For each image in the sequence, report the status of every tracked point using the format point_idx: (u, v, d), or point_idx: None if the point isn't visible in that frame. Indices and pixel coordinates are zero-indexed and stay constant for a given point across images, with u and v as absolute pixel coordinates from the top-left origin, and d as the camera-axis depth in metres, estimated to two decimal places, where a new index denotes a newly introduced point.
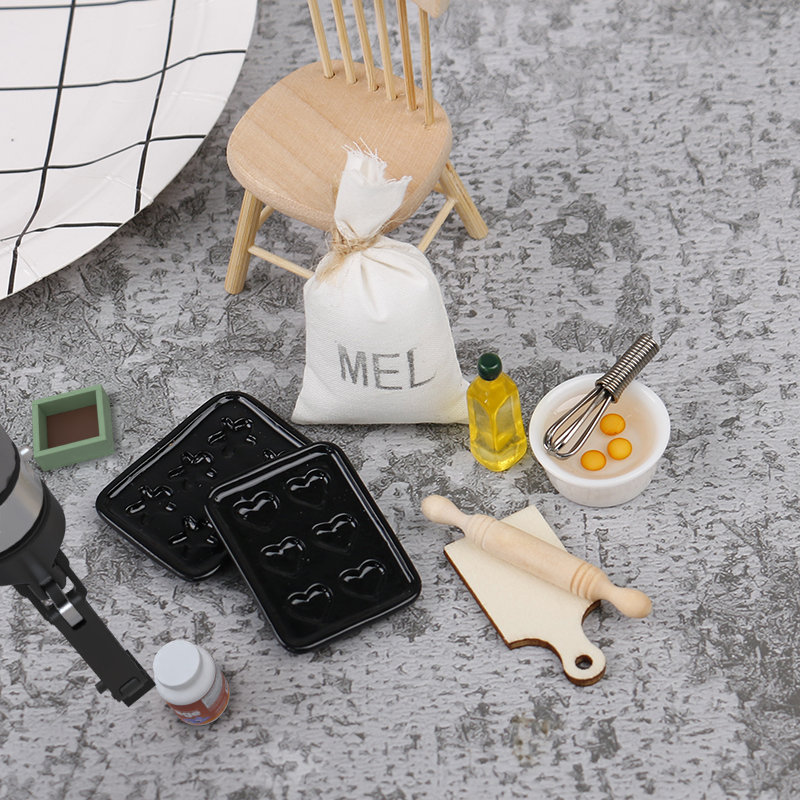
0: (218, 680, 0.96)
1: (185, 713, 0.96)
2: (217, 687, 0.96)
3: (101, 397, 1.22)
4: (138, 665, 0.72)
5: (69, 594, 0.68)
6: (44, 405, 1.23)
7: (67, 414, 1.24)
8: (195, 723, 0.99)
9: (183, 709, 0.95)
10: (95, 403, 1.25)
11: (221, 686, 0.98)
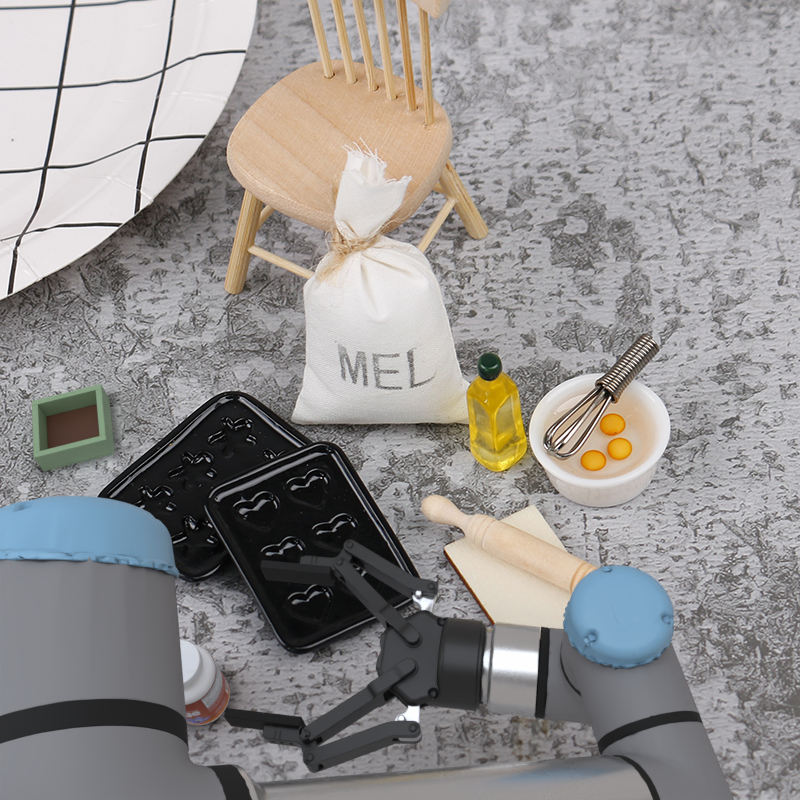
0: (218, 680, 0.96)
1: None
2: (217, 687, 0.96)
3: (101, 397, 1.22)
4: None
5: None
6: (44, 405, 1.23)
7: (67, 414, 1.24)
8: (195, 723, 0.99)
9: None
10: (95, 403, 1.25)
11: (221, 686, 0.98)
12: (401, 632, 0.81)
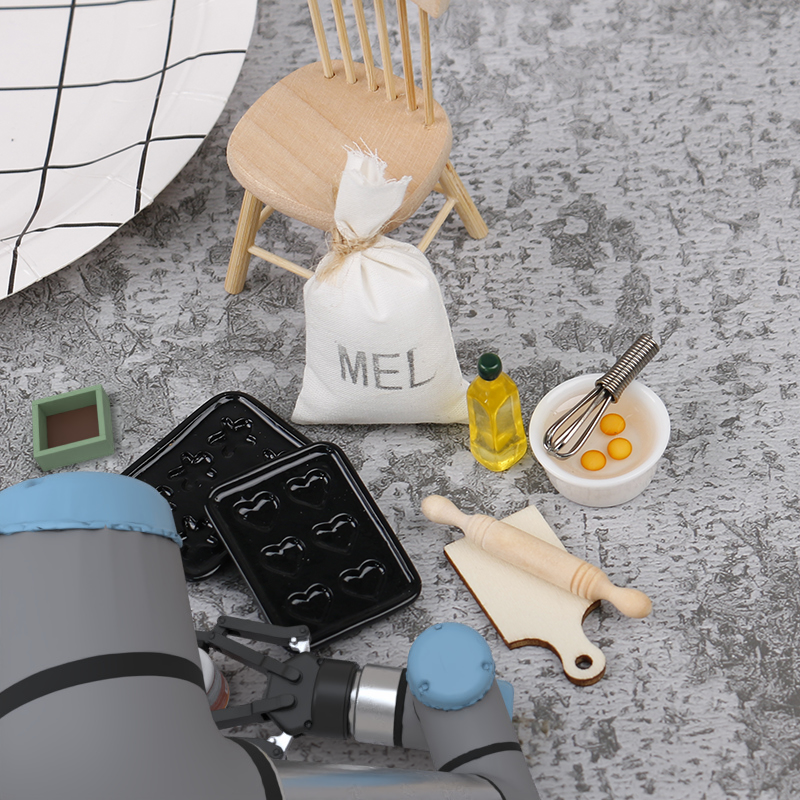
0: (217, 681, 0.96)
1: None
2: (216, 688, 0.96)
3: (101, 397, 1.22)
4: None
5: (262, 714, 0.94)
6: (44, 405, 1.23)
7: (67, 414, 1.24)
8: None
9: None
10: (95, 403, 1.25)
11: (220, 687, 0.98)
12: (284, 671, 0.94)
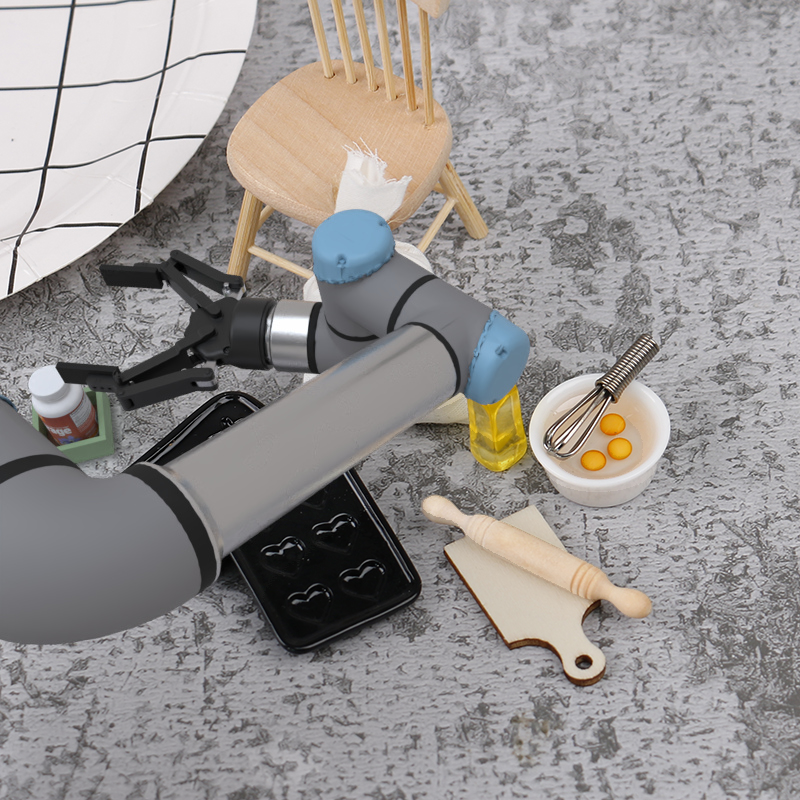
0: (86, 404, 1.17)
1: (58, 430, 1.17)
2: (84, 409, 1.17)
3: (101, 397, 1.22)
4: None
5: None
6: None
7: None
8: None
9: (55, 424, 1.16)
10: (95, 403, 1.25)
11: (90, 412, 1.19)
12: (206, 307, 0.98)
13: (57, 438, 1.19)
